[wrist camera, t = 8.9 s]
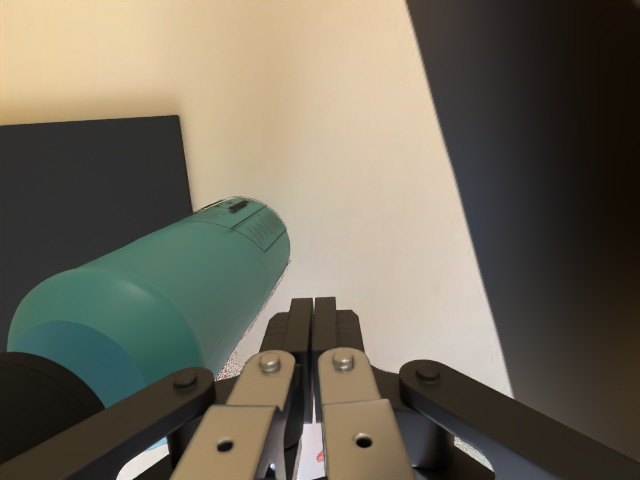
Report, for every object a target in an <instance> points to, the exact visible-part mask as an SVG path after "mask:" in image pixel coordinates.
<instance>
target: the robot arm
mask: <svg viewBox="0 0 640 480" xmlns="http://www.w3.org/2000/svg"><path fill="white" fill-rule="evenodd" d="M314 398H315V413H316V423H321V426H322V443H323V457H324V470H325V477H321V478H317V479H313V480H640V463H639V462H637V461H635V460H633V459H631V458H629V457H627V456H625V455H623V454H621V453H619V452H617V451H615V450H613V449H611V448H609V447H607V446H605V445H603V444H601V443H599V442H597V441H595V440H593V439H591V438H589V437H587V436H585V435H583V434H581V433H579V432H577V431H575V430H573V429H571V428H569V427H567V426H566V425H563V424H561V423H560V422H558V421H556V420H553V419H551V418H550V417H548V416H546V415H544V414H542V413H540V412H538V411H536V410H534V409H532V408H530V407H528V406H526V405H524V404H522V403H520V402H518V401H516V400H514V399H512V398H510V397H508V396H506V395H504V394H502V393H500V392H498V391H496V390H494V389H492V388H490V387H488V386H486V385H484V384H482V383H480V382H478V381H476V380H474V379H472V378H470V377H468V376H466V375H464V374H462V373H460V372H458V371H456V370H454V369H452V368H450V367H448V366H446V365H444V364H442V363H440V362H437V361H432V360H413V361H410V362H408V363H406V364H404V365H403V366H402V367H401V368H400V371H399V374H397V373H391V372H386V371H383V370H380V369H378V368H376V367H374V366H372V365H371V364H370V362H369V359H368V357H367V355H366V354H365V351H364V346H363V340H362V334H361V329H360V323H359V318H358V315H356V314H355V313H354V312H353V311H352V310H336V297H317V298H315V309H314V307H313V298H294V299H292V301H291V306H290V310H289V312H281V313H277V314H275V315H274V316H273V317H272V318H271V319H270V320H269V323H268V326H267V329H266V332H265V336H264V338H263V341H262V345H261V348H260V351H259V353H257V354H255V355H253V356H252V357H250V358H249V359H248V360H247V361H246V363H245V365H244V367H243V369H242V371H241V373H240V375H238V376H235V377H232V378H228V379H223V380H219V381H214V375H213V373H212V372H211V371H210V370H209V369H206V368H203V367H190V368H185V369H181V370H178V371H176V372H174V373H171V374H170V375H168V376H166V377H164V378H162V379H160V380H158V381H157V382H155V383H153V384H151V385H149V386H147V387H145V388H143V389H142V390H140V391H138V392H136V393H134V394H132V395H130V396H129V397H127V398H125V399H123V400H121V401H119V402H117V403H115V404H114V405H112V406H110V407H108V408H106V409H104V410H102V411H101V412H99V413H97V414H95V415H93V416H91V417H89V418H87V419H86V420H84V421H82V422H80V423H78V424H76V425H74V426H73V427H71V428H69V429H67V430H65V431H63V432H61V433H59V434H58V435H56V436H54V437H52V438H50V439H48V440H46V441H45V442H43V443H41V444H39V445H37V446H35V447H33V448H31V449H30V450H28V451H26V452H24V453H22V454H20V455H18V456H17V457H15V458H13V459H11V460H9V461H7V462H5V463H3V464H2V465H0V480H116V478H117V476H118V473H119V472H120V470H121V469H122V467H123V466H124V465H125V464H126V463H127V462H129V461H130V460H131V459H133V458H134V457H136V456H137V455H139V454H140V453H142V452H143V451H145V450H146V449H148V448H149V447H151V446H153V445H154V444H156V443H157V442H159V441H160V440H162V439H163V438H165V437H166V439H167V444H168V450H169V454H168V455H167V456H165V457H164V458H163V459H161V460H160V461H158V462H157V463H155V464H154V465H153V466H151V467H150V468H148V469H147V470H145V471H144V472H143V473H141V474H140V475H138V476H137V477H136V478H134V479H133V480H296V479H297V473H298V467H299V461H300V455H301V450H302V441H301V436H302V433H303V424H312V418H313V399H314ZM455 436H456V437H458V438H459V439H461V440H462V441H464V442H465V443H467V444H468V445H470V446H471V447H473V448H474V449H476V450H477V451H479V452H480V453H482V454H483V455H484V456H485V457H486V458H487V459H488V461H489V462H490V464H491V465H492V467H493V470H494V472H493V471H491V470H490V469H488V468H487V467H485V466H484V465H482V464H481V463H479V462H478V461H476V460H475V459H474V458H472V457H471V456H469V455H468V454H466V453H465V452H463V451H462V450H460V449H459V448H457V447H456V446H455V445H454V437H455Z"/></svg>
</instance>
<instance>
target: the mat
mask: <svg viewBox="0 0 640 480" xmlns="http://www.w3.org/2000/svg"><path fill="white" fill-rule="evenodd" d="M191 212H192V205H191V198H190V191H189V184H188V176H187V169H186V162H185V155H184V148H183V141H182V134H181V127H180V120H179V116H178V115H170V116H153V117H136V118H120V119H103V120H86V121H70V122H53V123H36V124H20V125H3V126H0V353H2V352H7V343H8V335H9V330H10V326H11V322H12V319H13V317H14V314H15V312H16V310H17V308H18V306H19V305H20V303H21V301H22V300H23V299H24V298H25V297H26V295H27V294H28V293H29V292H30V291H31V290H32V289H34V288H35V287H36V286H37V285H38V284H40V283H41V282H43V281H45V280H46V279H48V278H50V277H52V276H54V275H56V274H59V273H61V272H64V271H67V270H71V269H76V268H78V267H80V266H82V265H85V264H87V263H89V262H91V261H93V260H96V259H98V258H100V257H102V256H104V255H107V254H109V253H111V252H113V250H114V249H115V250H114V251H116V250H118V249H120V248H122V247H124V246H126V245H128V243H129V242H130V240H131V239H132V238H133V237H134V238H133V239H132V240H131V242H130V243H132V242H134V241H136V240H137V239H140V238H142V237H144V236H146V235H148V234H151V233H153V232H155V231H158V230H160V229H162V227H163V226H164V227H167V226H169V225H171V224H170V223H172V224H173V223H175V222H178V221H179V220H180V218H181V216H182V217H183V218H182V219H184V218H186V217H188V215H189V213H190V215H191V216H192V214H193V212H192V213H191ZM185 215H186V216H185ZM190 215H189V216H190ZM178 218H179V219H178ZM174 219H175V220H176V221H175V220H174ZM182 219H181V220H182ZM169 221H170V222H169ZM171 221H173V222H171ZM163 224H168V225H163ZM162 225H163V226H162ZM161 226H162V227H161ZM155 227H156V228H155ZM158 227H159V228H158ZM160 227H161V228H160ZM164 227H163V228H164ZM157 228H158V229H157ZM135 236H136V237H135ZM129 239H130V240H129ZM124 242H125V243H124ZM130 243H129V244H130ZM121 244H122V245H121ZM120 245H121V246H120ZM117 247H118V248H117Z"/></svg>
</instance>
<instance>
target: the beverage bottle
mask: <svg viewBox="0 0 640 480" xmlns="http://www.w3.org/2000/svg"><path fill="white" fill-rule="evenodd" d="M241 197H242V196H235V198H237V199H230V200H226V199H225V200H226V201H224V202H221V201H223V199H222V200H220V201H218V202H221V203H219V204H217V205H214V204H216V203H218V202H215V203H213V204H211V205H214V206H212V207H210V206H211V205H208V206H206V207H204V208H208V207H210V208H208V209H205V210H204V208H203V209H202V208H201V210H199V212H198V210H197V212H195V213H196V214H195V213H193V214H194V215H193V214H192V216H191V215H190V213H189V215H190V216H189V215H188V217H186V218H184V219H182V218H183V217H182V216H181V218H180V220H179V221H178V222H175V223H173V224H172V223H170V224H171V225H169V226H167V227H164V226H163V225H168V224H163V225H162V226H163V227H164V228H163V227H162V226H161V227H162V229H160V230H158V231H155V232H153V233H151V234H148V235H146V236H144V237H142V238H140V239H137V240H136V241H134V242H132V243H130V242H131V240H132V239H133V238H134V237H133V238H132V239H131V240H130V239H129V240H130V242H129V243H130V244H129V243H128V245H126V246H124V247H122V248H120V249H118V250H116V251H114V250H115V249H114V250H113V252H111V253H109V254H107V255H104V256H102V257H100V258H98V259H96V260H93V261H91V262H89V263H87V264H85V265H82V266H80V267H78V268H76V269H71V270H67V271H64V272H61V273H59V274H56V275H54V276H52V277H50V278H48V279H46V280H45V281H43V282H41V283H40V284H38V285H37V286H36V287H35V288H34V289H32V290H31V291H30V292H29V293H28V294H27V295H26V297H25V298H24V299H23V300H22V301H21V303H20V305H19V306H18V308H17V310H16V312H15V314H14V317H13V319H12V322H11V326H10V330H9V335H8V343H7V352H2V353H0V465H2V464H3V463H5V462H7V461H9V460H11V459H13V458H15V457H17V456H18V455H20V454H22V453H24V452H26V451H28V450H30V449H31V448H33V447H35V446H37V445H39V444H41V443H43V442H45V441H46V440H48V439H50V438H52V437H54V436H56V435H58V434H59V433H61V432H63V431H65V430H67V429H69V428H71V427H73V426H74V425H76V424H78V423H80V422H82V421H84V420H86V419H87V418H89V417H91V416H93V415H95V414H97V413H99V412H101V411H102V410H104V409H106V408H108V407H110V406H112V405H114V404H115V403H117V402H119V401H121V400H123V399H125V398H127V397H129V396H130V395H132V394H134V393H136V392H138V391H140V390H142V389H143V388H145V387H147V386H149V385H151V384H153V383H155V382H157V381H158V380H160V379H162V378H164V377H166V376H168V375H170V374H171V373H174V372H176V371H178V370H181V369H185V368H190V367H203V368H206V369H209V370H210V371H211V372H212V373H213V375H214V381H215V379H216V377H217V376H218V374H219V373H220V371H221V369H222V368H223V366H224V365H225V363H226V362H227V360H228V358H229V357H230V355H231V354H232V352H233V350H234V349H235V347H236V346H237V344H238V342H239V341H240V339H241V338H243V337H244V336H245V335H244V333H245V331H246V330H247V328H248V327H249V326H250V324H251V323H252V322H253V320H254V319H255V317H256V316H257V314H258V313H259V311H260V309H261V308H262V306H263V305H264V303H265V301H266V300H267V298H268V299H269V298H270V297H271V296H269V295H270V293H271V291H272V290H273V288H274V287H276V286H275V285H276V283H277V282H278V280H279V278H280V277H282V276H284V275H282V274H283V273H284V270H285V268H286V267H287V265H288V261H289V256H290V241H289V237H288V233H287V231H286V230H287V228H285V227H286V226H284V225H285V224H283V223H284V222H283V223H282V221H281V220H282V219H281V220H280V218H279V217H278V216H277V215H278V214H277V213H276V212H275V211H274V212H275V213H276V214H277V215H276V214H275V213H274V212H273V211H272V210H271V209H269V208H270V207H269V208H268V207H266V206H267V205H266V204H265V205H266V206H265V205H263V204H264V203H263V204H261V203H262V202H261V203H259V202H260V201H259V202H256V201H254V200H250V199H246V198H243V199H241ZM233 198H234V197H233ZM247 198H249V197H247ZM251 199H252V198H251ZM257 201H258V200H257ZM193 212H194V211H193ZM191 213H192V212H191ZM185 216H186V215H185ZM178 219H179V218H178ZM181 219H182V220H181ZM174 220H175V219H174ZM175 221H176V220H175ZM169 222H170V221H169ZM171 222H173V221H171ZM161 227H160V228H161ZM155 228H156V227H155ZM158 228H159V227H158ZM158 228H157V229H158ZM135 237H136V236H135ZM124 243H125V242H124ZM121 245H122V244H121ZM121 245H120V246H121ZM117 248H118V247H117ZM290 261H291V260H290ZM290 261H289V262H290ZM287 270H288V269H287ZM281 275H282V276H281ZM278 283H279V284H280V281H279V282H278ZM278 283H277V284H278ZM277 287H278V286H277ZM275 289H276V288H274V290H275ZM272 292H273V291H272ZM271 294H274V293H271ZM268 296H269V297H268ZM267 301H268V300H267ZM267 301H266V302H267ZM268 302H269V301H268ZM265 304H266V303H265ZM267 304H268V303H267ZM265 306H266V305H265ZM262 309H263V308H262ZM261 311H262V310H261ZM259 314H260V313H259ZM258 316H259V315H258ZM256 319H257V318H256ZM255 321H256V320H255ZM253 324H254V323H253ZM252 326H253V325H252ZM250 329H251V328H250ZM248 332H249V331H248ZM248 332H247V333H248ZM243 335H244V336H243ZM242 336H243V337H242ZM166 443H167V439H166V437H165V438H163V439H162V440H160V441H159V442H157V443H156V444H154V445H153V446H151V447H149V448H148V449H146V450H145V451H147V450H151V449H154V448H157V447H159V446H161V445H164V444H166ZM143 452H144V451H143Z"/></svg>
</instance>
